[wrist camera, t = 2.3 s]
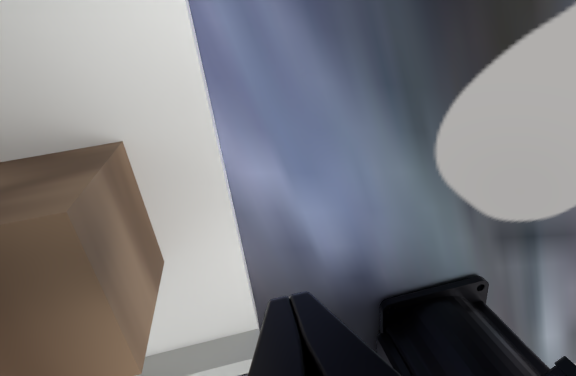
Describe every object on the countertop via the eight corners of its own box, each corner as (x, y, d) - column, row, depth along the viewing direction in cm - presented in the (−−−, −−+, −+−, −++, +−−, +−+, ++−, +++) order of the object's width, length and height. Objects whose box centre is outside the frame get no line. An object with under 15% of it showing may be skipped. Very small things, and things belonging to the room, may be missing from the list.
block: (122, 141, 12) (66, 212, 7) (164, 261, 14) (141, 374, 9) (-42, 169, 11) (-217, 266, 6) (29, 291, 13) (-65, 426, 9)
